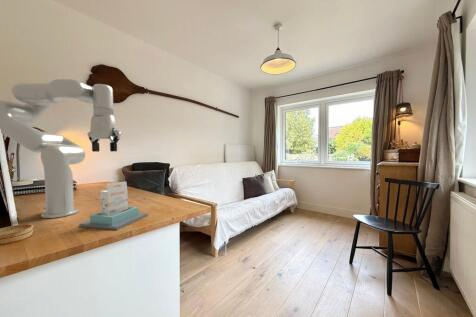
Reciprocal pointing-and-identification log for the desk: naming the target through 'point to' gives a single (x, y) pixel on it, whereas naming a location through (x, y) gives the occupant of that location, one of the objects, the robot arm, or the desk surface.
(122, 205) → the ink cartridge box
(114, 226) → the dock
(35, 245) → the desk surface
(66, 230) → the desk surface
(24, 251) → the desk surface
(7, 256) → the desk surface
